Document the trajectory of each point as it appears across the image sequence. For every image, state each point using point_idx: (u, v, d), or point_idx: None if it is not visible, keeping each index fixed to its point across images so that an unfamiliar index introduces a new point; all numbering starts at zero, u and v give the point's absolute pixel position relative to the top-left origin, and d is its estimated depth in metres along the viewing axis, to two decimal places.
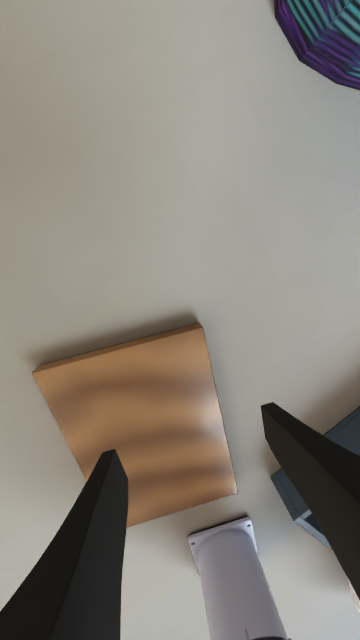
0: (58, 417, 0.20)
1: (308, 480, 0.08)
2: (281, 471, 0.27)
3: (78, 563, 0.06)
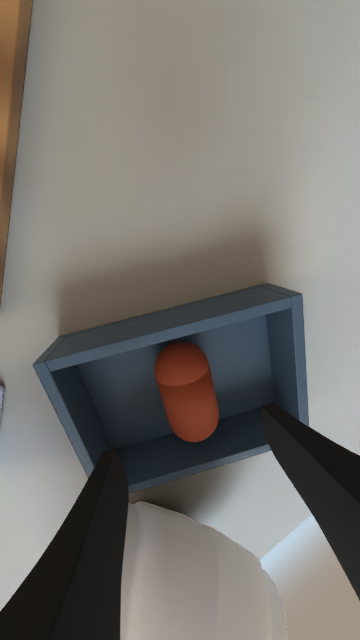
0: None
1: (308, 480, 0.08)
2: (76, 333, 0.18)
3: (78, 563, 0.06)
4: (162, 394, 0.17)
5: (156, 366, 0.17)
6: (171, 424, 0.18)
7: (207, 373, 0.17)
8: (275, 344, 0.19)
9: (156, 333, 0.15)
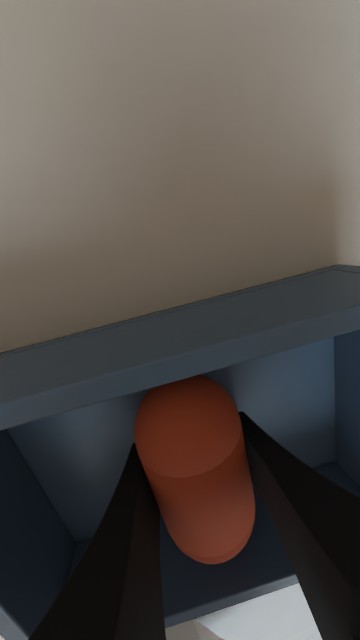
0: None
1: (268, 493, 0.08)
2: None
3: (130, 546, 0.06)
4: (149, 481, 0.09)
5: (137, 427, 0.08)
6: (168, 529, 0.10)
7: (240, 441, 0.08)
8: (356, 374, 0.11)
9: (130, 371, 0.06)
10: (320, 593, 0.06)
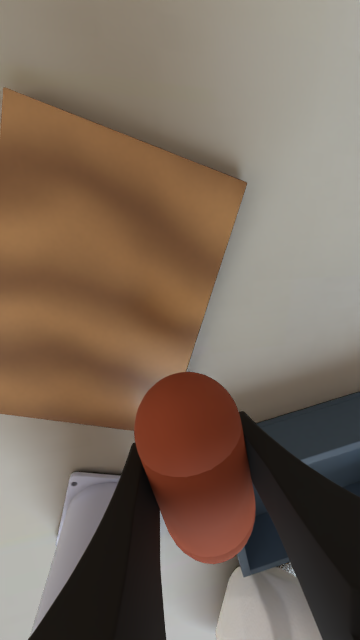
0: (2, 185, 0.13)
1: (268, 493, 0.08)
2: None
3: (130, 547, 0.06)
4: (149, 480, 0.09)
5: (137, 426, 0.08)
6: (168, 529, 0.10)
7: (240, 440, 0.08)
8: None
9: (314, 456, 0.18)
10: (320, 593, 0.06)
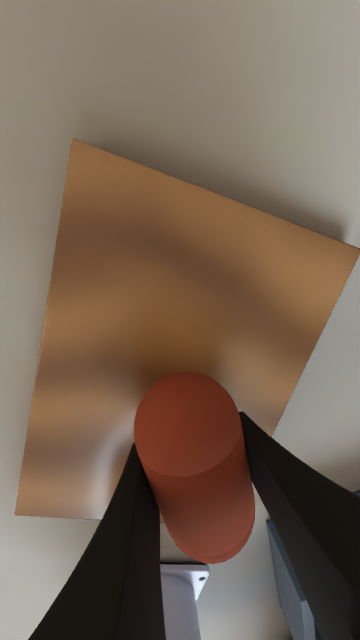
0: (62, 260, 0.10)
1: (268, 493, 0.08)
2: None
3: (131, 546, 0.06)
4: (149, 480, 0.09)
5: (136, 426, 0.08)
6: (167, 528, 0.10)
7: (239, 440, 0.08)
8: None
9: None
10: (320, 593, 0.06)
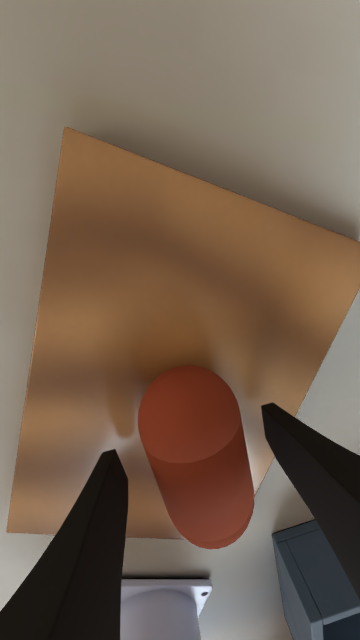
0: (54, 261, 0.09)
1: (308, 480, 0.08)
2: (292, 531, 0.18)
3: (78, 563, 0.06)
4: (154, 471, 0.09)
5: (141, 418, 0.09)
6: (172, 518, 0.10)
7: (240, 426, 0.09)
8: None
9: None
10: None
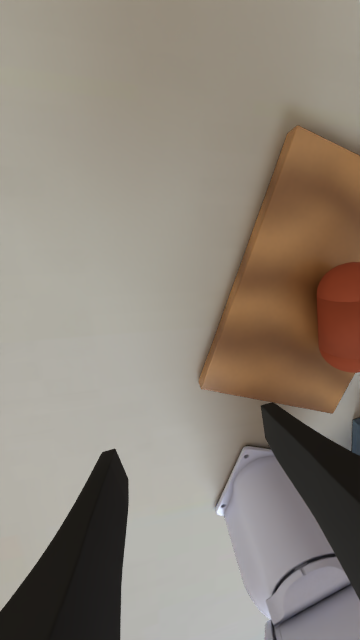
0: (274, 201, 0.16)
1: (308, 480, 0.08)
2: None
3: (78, 563, 0.06)
4: (345, 317, 0.16)
5: (339, 285, 0.16)
6: (345, 353, 0.17)
7: None
8: None
9: None
10: None
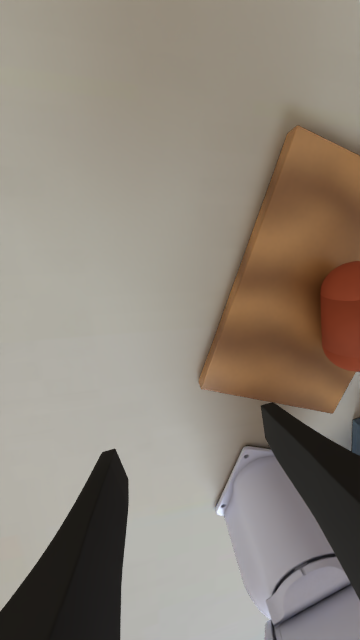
0: (274, 201, 0.16)
1: (308, 480, 0.08)
2: None
3: (78, 563, 0.06)
4: (355, 315, 0.16)
5: (348, 284, 0.15)
6: (355, 353, 0.17)
7: None
8: None
9: None
10: None
